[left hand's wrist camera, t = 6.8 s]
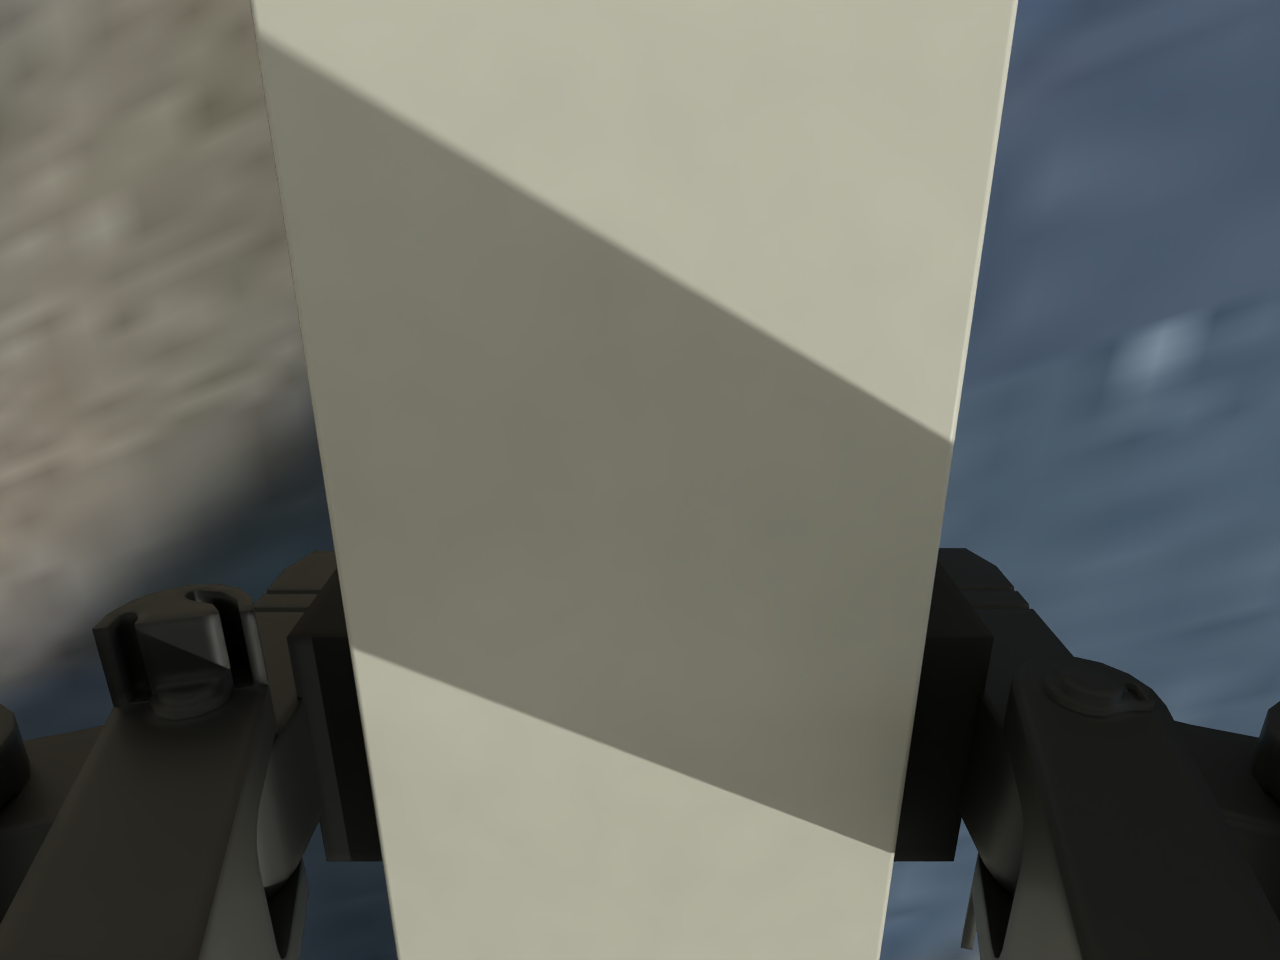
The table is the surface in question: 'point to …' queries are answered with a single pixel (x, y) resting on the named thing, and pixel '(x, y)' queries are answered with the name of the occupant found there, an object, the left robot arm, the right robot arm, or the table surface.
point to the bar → (636, 443)
